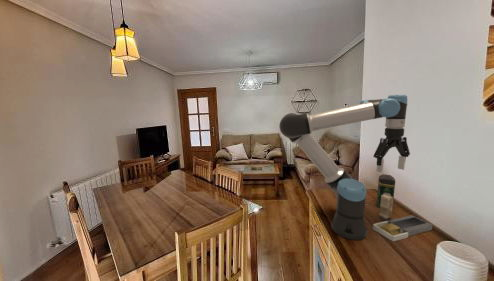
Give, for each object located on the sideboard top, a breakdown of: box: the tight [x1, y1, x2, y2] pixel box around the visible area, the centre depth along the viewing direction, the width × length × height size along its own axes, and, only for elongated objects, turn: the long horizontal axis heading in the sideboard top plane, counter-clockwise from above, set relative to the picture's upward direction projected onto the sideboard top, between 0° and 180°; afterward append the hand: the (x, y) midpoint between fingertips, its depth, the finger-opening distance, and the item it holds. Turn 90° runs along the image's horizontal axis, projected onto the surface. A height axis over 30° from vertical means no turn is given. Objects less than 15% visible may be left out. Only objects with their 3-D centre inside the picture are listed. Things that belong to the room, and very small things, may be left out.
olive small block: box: [387, 223, 401, 235], centre depth 93 cm, size 3×4×3 cm
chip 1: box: [381, 225, 396, 236], centre depth 92 cm, size 3×4×3 cm
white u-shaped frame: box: [371, 221, 409, 242], centre depth 92 cm, size 9×10×2 cm
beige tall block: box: [378, 194, 394, 222], centre depth 102 cm, size 4×4×13 cm
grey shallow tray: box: [388, 214, 433, 237], centre depth 96 cm, size 16×9×3 cm, turn 107°
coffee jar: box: [376, 173, 396, 210], centre depth 116 cm, size 10×8×19 cm
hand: (390, 170), depth 100 cm, fingers open, 13 cm apart
